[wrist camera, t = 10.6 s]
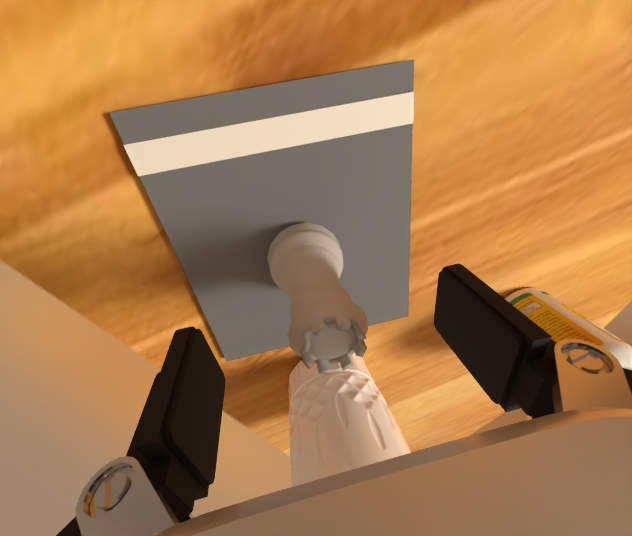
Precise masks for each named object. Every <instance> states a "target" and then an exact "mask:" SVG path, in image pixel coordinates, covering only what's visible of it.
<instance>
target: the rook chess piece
mask: <svg viewBox="0 0 632 536" xmlns="http://www.w3.org/2000/svg"><path fill="white" fill-rule="evenodd" d="M267 260H268V264H269V269H270V273H271V277H272V279H273V280H274V282H275V283H276V284H277V286H278V287H279V288H280V289H281V291H283V292H285V293H286V294H287V295H289V296H290V298H291V301H292V303H291V307H290V310H289V311H290V316H291V320H292V322H291V324H290V328H289V331H288V334H287V335H288V340H289V344H290V347H291V348H292V349H293V350H294V352H295V353H296V354H297V355H298V356H300V357H301V358H302V362H303V363H304V365H305V366H306V367H307V368H308V369H310V368H311V367H313V366H314V363H315V364H317V368H318V372H319V373H322V374H331V365H330V364H334V363H338V362H340V365H341V368H342V370H343V371H344V370H346V369H348V368H350V367H352V366H354V364H353V361H352V359H351V356H352V355H353V354H354V353H355V354H356V356H360V357H363V355H364V353H365V351H366V348H367V347H366V345H365V343H364V341H363V339H366V336H365V334H366V332H367V330H368V325H367V316H366V315H365V313H364V311H363V310H362V308H361V307H359V306H358V305H356V304H354V303H353V302H351V297H350V295H349V294H348V292H347V291H346V289H344V288H342V287H341V285H340V281H339V278H340V275H341V272H342V270H343V253H342V250H341V248H340V245H339V243H338V241H337V239H336V238H335V236H334V234H333V233H332V232H330V231H329V230H327V229H326V228H325V227H323V226H322V225H317V224H312V223H308V222H307V223H301V224H296V225H291V226H290V227H288V228H286V229H285V230H283V231H281V232H280V233H279V234H278V235H277V236H276V238H275V239H274V240H273V242H272V243H271V244H270V247H269V252H268V256H267Z"/></svg>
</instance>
